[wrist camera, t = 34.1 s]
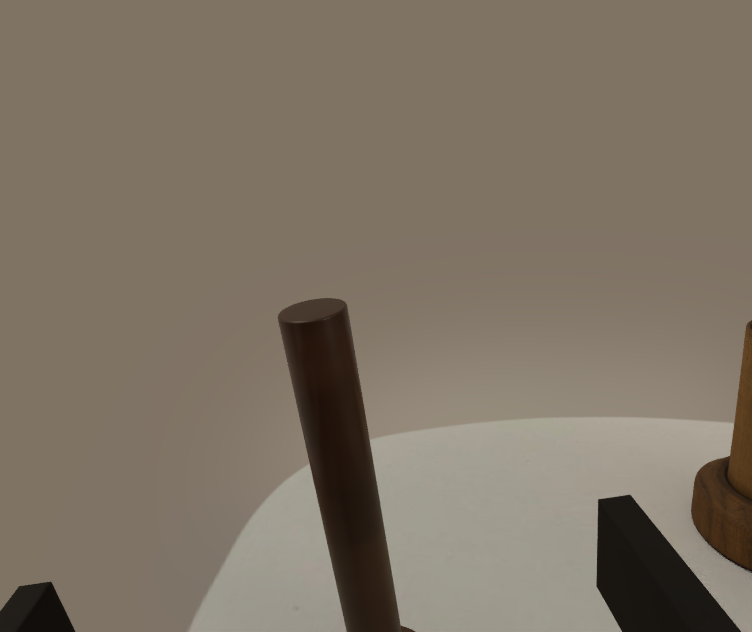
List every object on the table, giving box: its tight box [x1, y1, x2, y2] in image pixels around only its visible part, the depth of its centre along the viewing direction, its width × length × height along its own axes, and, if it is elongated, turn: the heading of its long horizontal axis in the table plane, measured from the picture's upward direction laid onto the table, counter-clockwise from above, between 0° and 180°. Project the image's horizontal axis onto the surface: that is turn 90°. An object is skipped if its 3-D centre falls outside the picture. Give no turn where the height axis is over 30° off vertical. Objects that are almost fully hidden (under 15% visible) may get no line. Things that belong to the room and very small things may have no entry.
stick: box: [278, 298, 415, 632], centre depth 17 cm, size 5×5×17 cm
